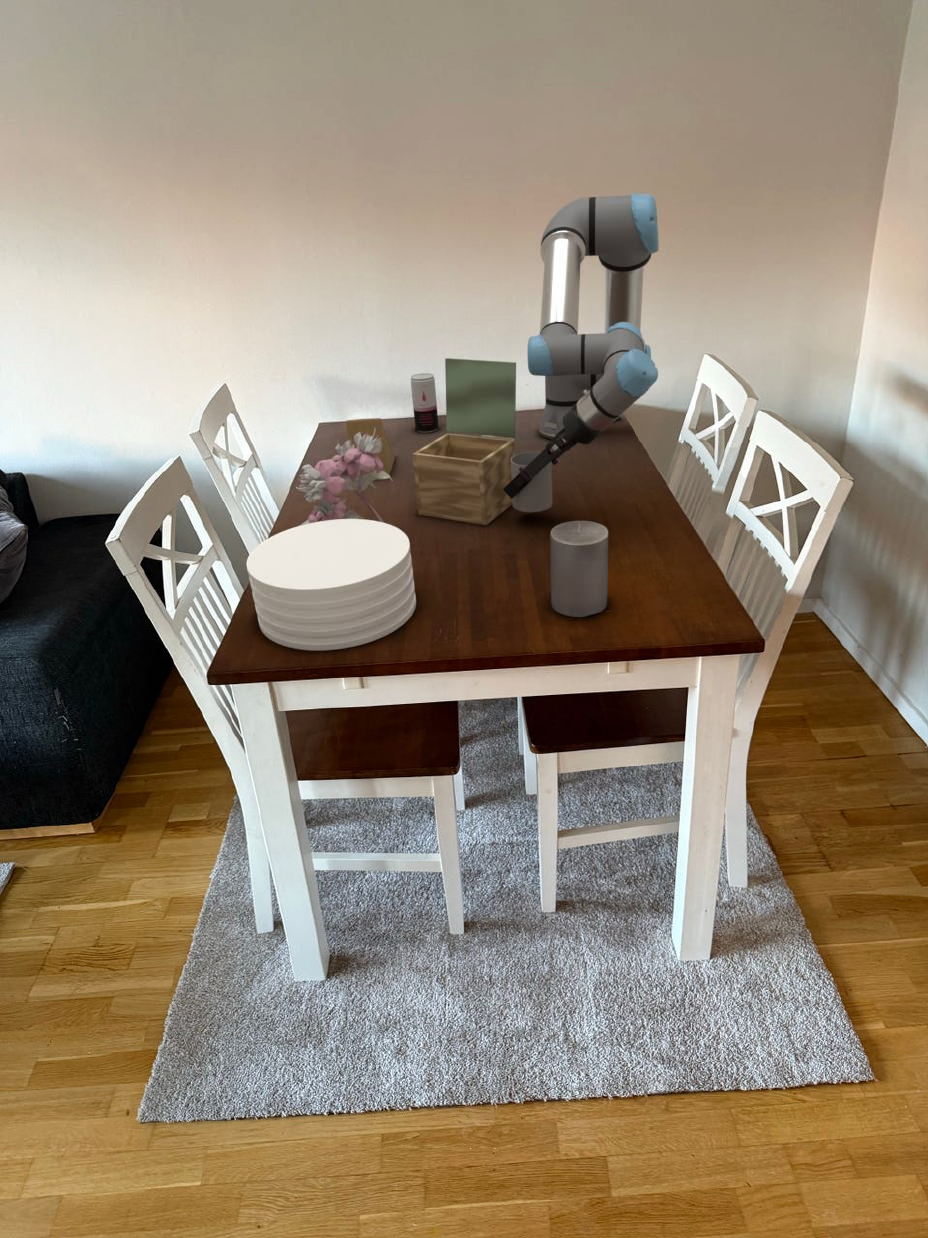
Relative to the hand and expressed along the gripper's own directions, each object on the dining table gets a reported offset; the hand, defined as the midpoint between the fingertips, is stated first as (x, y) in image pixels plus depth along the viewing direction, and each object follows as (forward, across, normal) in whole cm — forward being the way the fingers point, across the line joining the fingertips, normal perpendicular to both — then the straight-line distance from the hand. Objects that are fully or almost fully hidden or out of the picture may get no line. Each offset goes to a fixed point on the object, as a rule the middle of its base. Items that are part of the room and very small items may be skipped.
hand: (517, 485), depth 182 cm
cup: (0, 0, +5) cm, 5 cm away
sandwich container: (+39, -16, -28) cm, 51 cm away
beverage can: (+42, -47, -31) cm, 71 cm away
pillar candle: (-14, +30, +24) cm, 41 cm away
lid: (-1, -9, -20) cm, 22 cm away
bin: (+14, -1, -4) cm, 15 cm away
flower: (+26, +25, -15) cm, 39 cm away
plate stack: (+14, +48, -4) cm, 50 cm away
